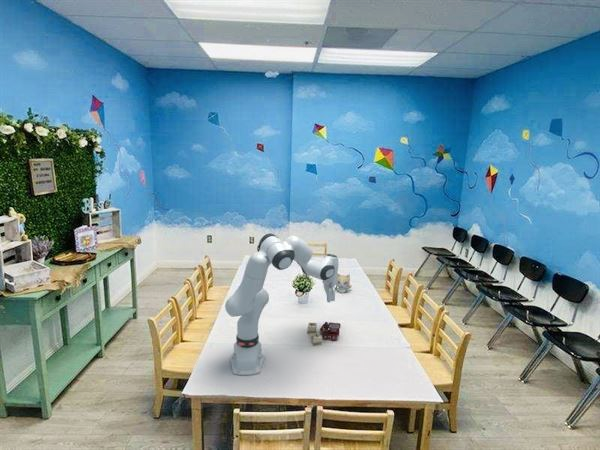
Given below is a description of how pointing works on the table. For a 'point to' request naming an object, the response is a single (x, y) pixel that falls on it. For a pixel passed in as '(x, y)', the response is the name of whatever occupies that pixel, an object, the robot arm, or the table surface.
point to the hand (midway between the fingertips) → (328, 301)
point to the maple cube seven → (312, 328)
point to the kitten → (343, 283)
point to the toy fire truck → (330, 331)
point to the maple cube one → (316, 339)
